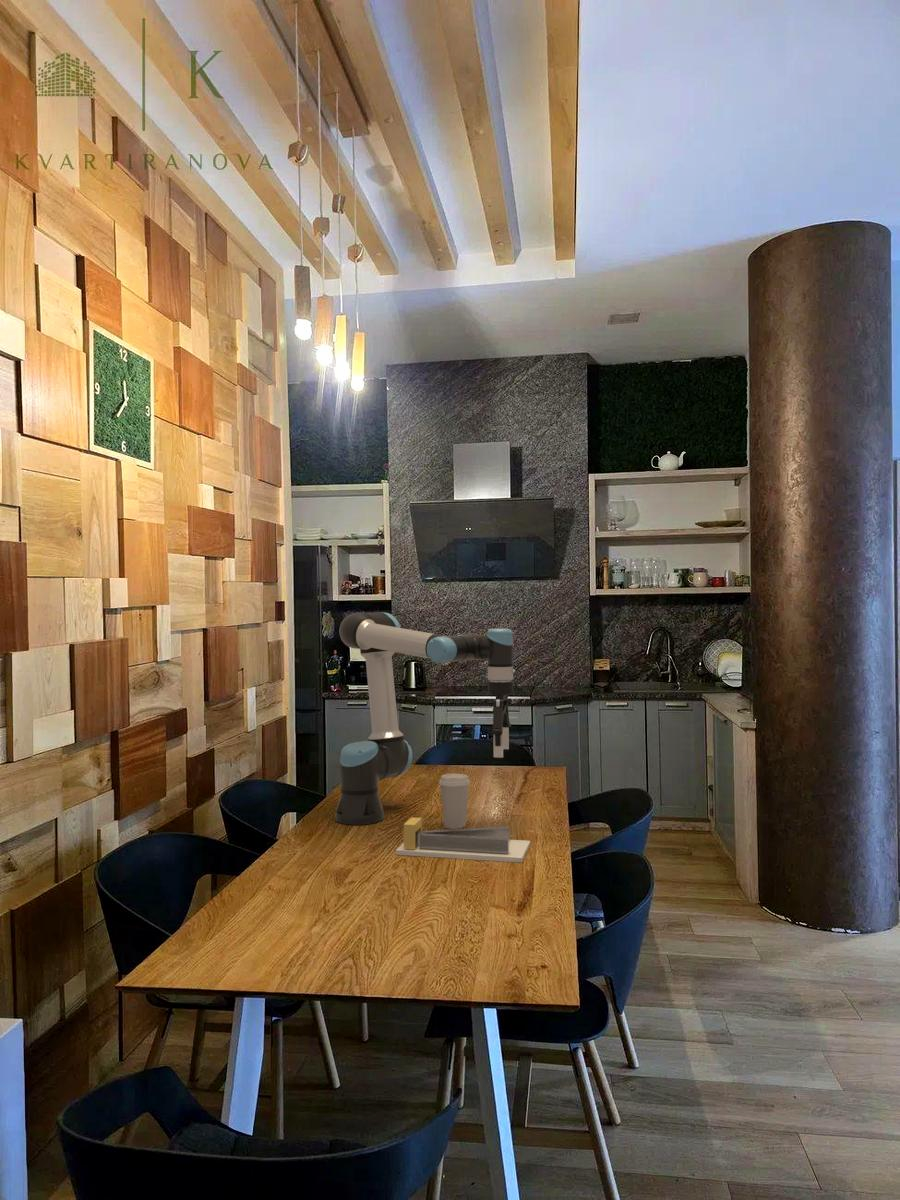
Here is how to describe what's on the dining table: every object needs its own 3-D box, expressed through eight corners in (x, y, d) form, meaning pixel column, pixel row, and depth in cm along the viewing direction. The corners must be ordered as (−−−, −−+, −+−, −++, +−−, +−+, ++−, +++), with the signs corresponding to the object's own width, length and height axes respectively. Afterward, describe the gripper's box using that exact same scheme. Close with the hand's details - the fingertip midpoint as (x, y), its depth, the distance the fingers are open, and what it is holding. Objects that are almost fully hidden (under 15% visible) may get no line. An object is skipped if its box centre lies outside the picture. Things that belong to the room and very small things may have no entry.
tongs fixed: (405, 847, 226) (405, 834, 226) (409, 842, 230) (409, 829, 230) (507, 853, 220) (507, 840, 220) (510, 848, 224) (510, 835, 224)
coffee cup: (433, 827, 251) (432, 777, 251) (448, 820, 260) (447, 771, 260) (461, 831, 247) (461, 780, 247) (476, 823, 255) (475, 774, 255)
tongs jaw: (423, 845, 227) (423, 832, 227) (422, 843, 229) (422, 830, 229) (509, 841, 231) (509, 828, 231) (508, 839, 233) (508, 826, 233)
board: (395, 854, 224) (395, 850, 224) (412, 838, 240) (412, 834, 240) (521, 862, 217) (521, 858, 217) (530, 845, 232) (530, 840, 232)
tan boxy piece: (403, 848, 225) (403, 824, 225) (411, 840, 232) (411, 817, 232) (414, 849, 224) (414, 825, 224) (422, 841, 231) (421, 817, 231)
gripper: (508, 685, 234) (509, 761, 234) (517, 677, 258) (518, 746, 258) (481, 684, 235) (482, 760, 235) (493, 677, 260) (494, 745, 260)
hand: (501, 753), depth 247 cm, fingers open, 13 cm apart
